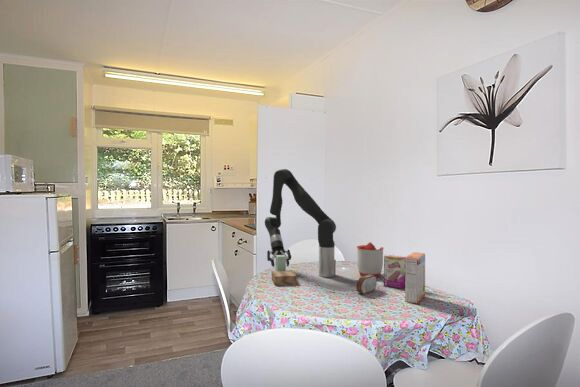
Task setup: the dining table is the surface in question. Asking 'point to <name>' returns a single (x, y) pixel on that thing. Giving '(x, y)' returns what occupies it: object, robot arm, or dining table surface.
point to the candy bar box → (394, 271)
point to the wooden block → (284, 277)
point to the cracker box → (414, 277)
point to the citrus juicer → (369, 260)
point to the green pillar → (280, 263)
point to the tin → (366, 283)
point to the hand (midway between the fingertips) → (280, 265)
